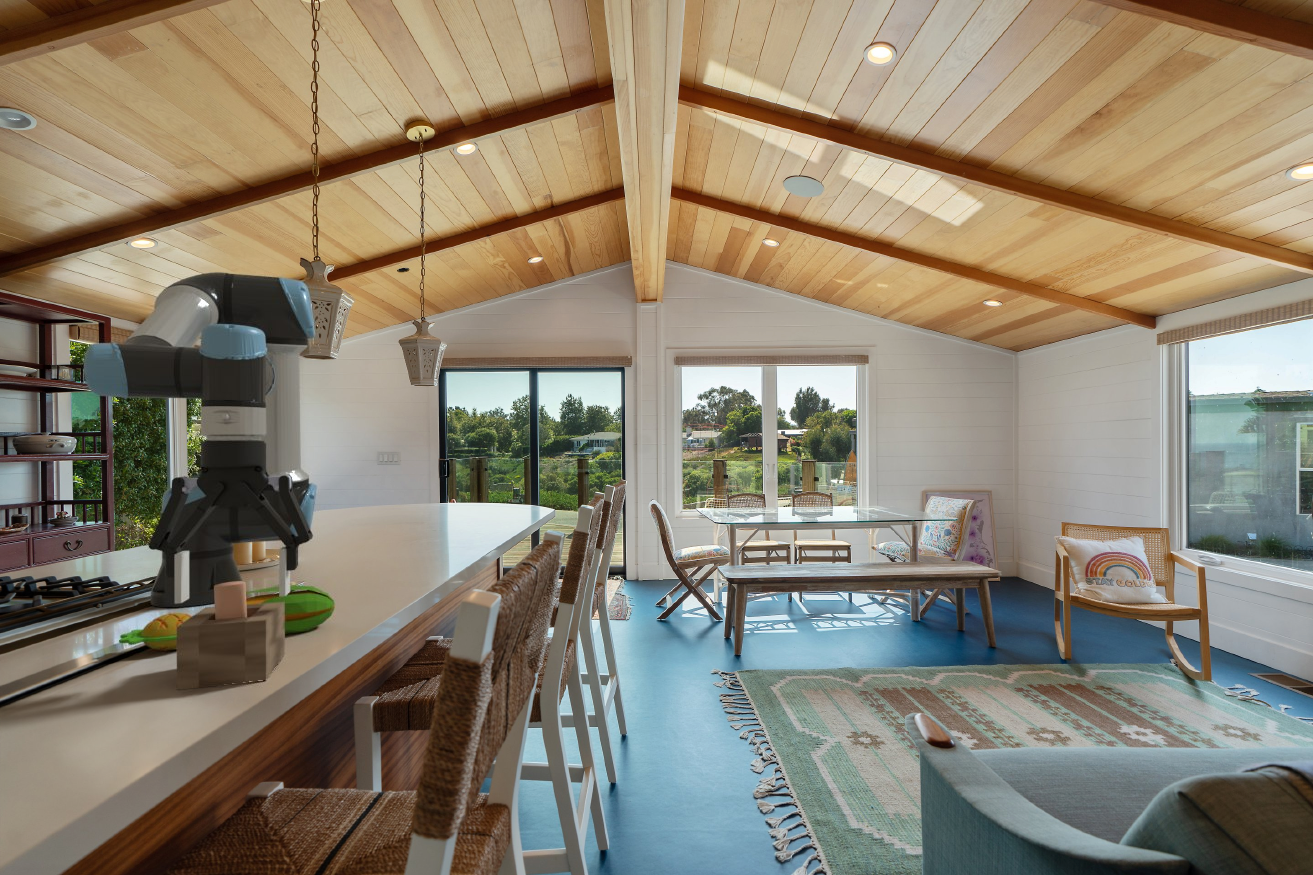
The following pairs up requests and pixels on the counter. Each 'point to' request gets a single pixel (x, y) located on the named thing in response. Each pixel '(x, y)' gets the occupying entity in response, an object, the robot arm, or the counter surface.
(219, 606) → the peg
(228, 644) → the socket block
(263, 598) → the corn
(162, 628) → the toy pineapple
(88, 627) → the counter surface
